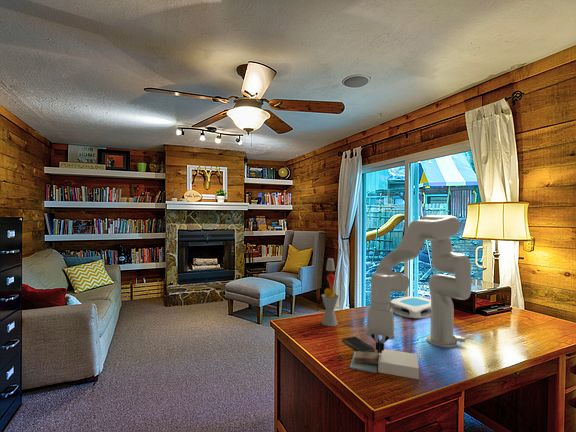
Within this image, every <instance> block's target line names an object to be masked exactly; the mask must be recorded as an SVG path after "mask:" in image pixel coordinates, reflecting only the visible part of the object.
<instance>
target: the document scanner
mask: <svg viewBox="0 0 576 432" xmlns="http://www.w3.org/2000/svg"><path fill="white" fill-rule="evenodd" d="M391 303H393V304H395V306H394V307H391V309H392V310H393V314H396V315H398V316H401V317H404V318H410V319H426V318H429V317H430V318H431V298H426V297H422V296H403V297H398V298H393V299H391ZM403 310H408V312H406V311H403ZM423 311H426V312H423ZM422 312H423V313H422Z"/></svg>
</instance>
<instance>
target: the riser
mask: <svg viewBox="0 0 576 432" xmlns="http://www.w3.org/2000/svg"><path fill="white" fill-rule="evenodd" d="M418 358H419V357H418V354H417V353H411V352H406V351H398V350H394V349H393V350H392V349H387V348H384V351H382V354H381V353H380V352H379V361H378V367H377V373H379V374H380V373H381V374H386V375H392V376H398V377H404V378H409V379H415V380H419V379H420V368H419V359H418Z"/></svg>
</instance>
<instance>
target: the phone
mask: <svg viewBox="0 0 576 432" xmlns="http://www.w3.org/2000/svg"><path fill="white" fill-rule="evenodd" d="M342 342H343V343H345V344H346V345H347V346H349V347H350V348H352V349H353V350H354V351H355V352H356V351H360V352H375V350H376V348H375V347H373V346H371V345H370V344H368V343H366V342H365V341H363V339H360V338H359V337H357V336H350V337H343V338H342Z"/></svg>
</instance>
